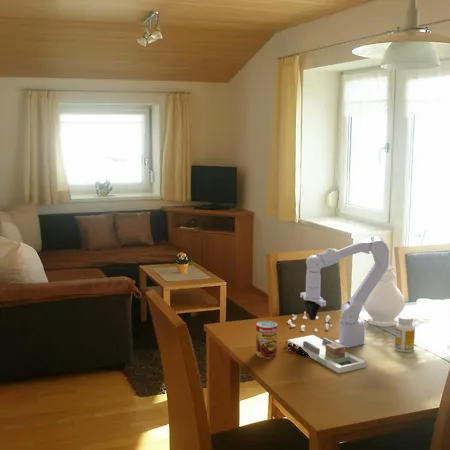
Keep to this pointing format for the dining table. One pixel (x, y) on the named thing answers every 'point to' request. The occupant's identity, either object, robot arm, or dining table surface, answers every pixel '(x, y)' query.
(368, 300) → the decorative vase
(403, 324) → the supplement bottle
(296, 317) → the game piece set
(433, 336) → the dining table surface
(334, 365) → the deck
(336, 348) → the block
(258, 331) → the canned food
